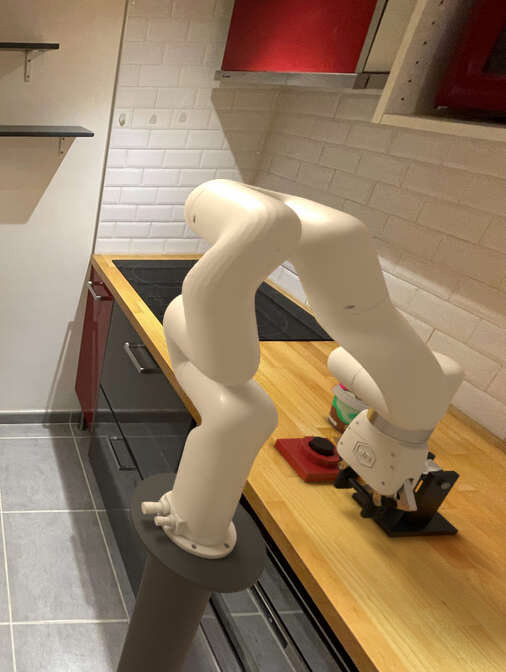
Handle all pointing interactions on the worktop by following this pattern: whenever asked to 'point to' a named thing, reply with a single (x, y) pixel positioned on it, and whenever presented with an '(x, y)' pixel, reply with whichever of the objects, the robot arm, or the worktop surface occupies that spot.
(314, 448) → the stop button
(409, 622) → the worktop surface
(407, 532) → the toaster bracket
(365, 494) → the lever
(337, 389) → the food container
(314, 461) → the block
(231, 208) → the robot arm
